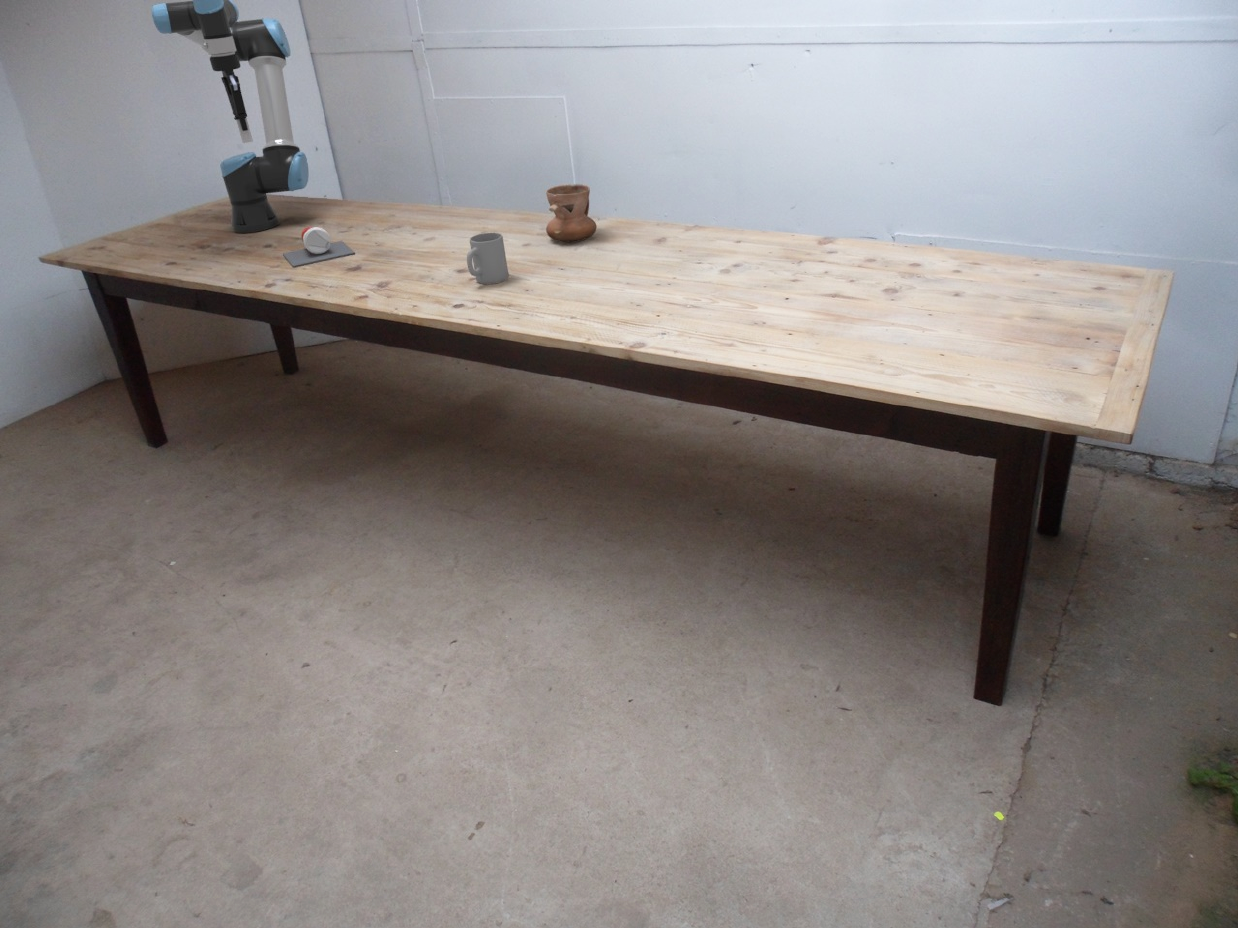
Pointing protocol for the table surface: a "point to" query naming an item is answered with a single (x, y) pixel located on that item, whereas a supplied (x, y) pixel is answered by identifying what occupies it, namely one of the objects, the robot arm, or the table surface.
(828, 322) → the table surface
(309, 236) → the paper cup
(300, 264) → the rubber mat
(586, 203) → the ceramic jug
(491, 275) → the mug
